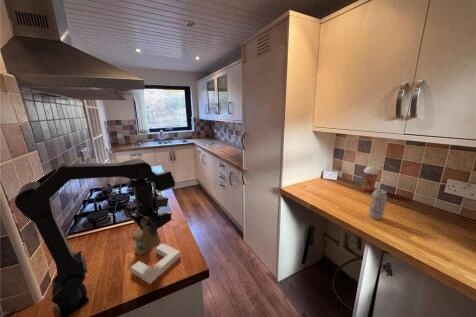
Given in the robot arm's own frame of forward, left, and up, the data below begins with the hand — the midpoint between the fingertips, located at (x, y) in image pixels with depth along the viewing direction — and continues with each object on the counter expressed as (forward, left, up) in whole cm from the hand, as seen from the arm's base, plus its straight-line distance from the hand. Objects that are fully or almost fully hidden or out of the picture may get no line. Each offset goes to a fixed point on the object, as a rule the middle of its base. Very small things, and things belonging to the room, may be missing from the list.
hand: (149, 234), depth 71 cm
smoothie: (+113, -77, -13) cm, 137 cm away
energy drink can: (+76, -78, -13) cm, 109 cm away
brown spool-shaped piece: (+3, +10, -13) cm, 17 cm away
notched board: (0, -2, -13) cm, 13 cm away
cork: (0, 0, -4) cm, 4 cm away
